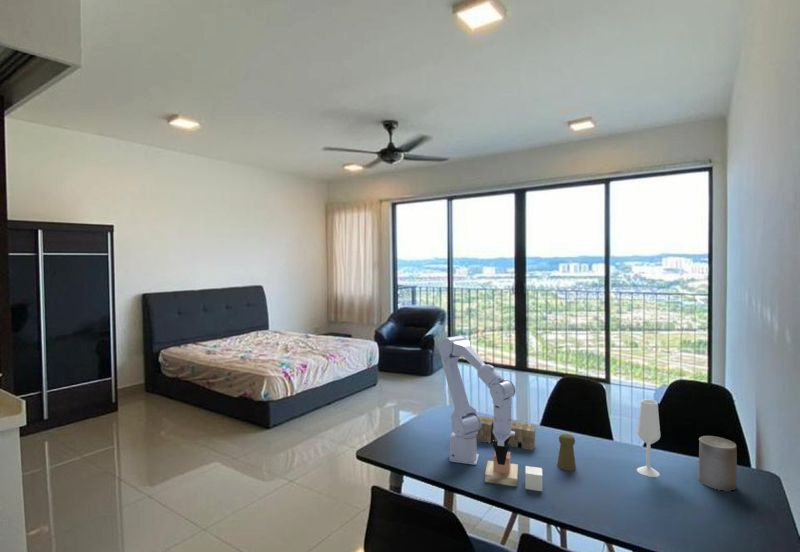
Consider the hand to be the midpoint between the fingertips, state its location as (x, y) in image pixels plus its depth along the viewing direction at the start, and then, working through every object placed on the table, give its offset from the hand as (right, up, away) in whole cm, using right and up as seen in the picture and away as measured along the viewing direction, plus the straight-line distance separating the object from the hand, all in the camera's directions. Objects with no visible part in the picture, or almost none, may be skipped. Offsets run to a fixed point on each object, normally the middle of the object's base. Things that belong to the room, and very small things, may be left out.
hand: (502, 458), depth 139 cm
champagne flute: (+50, -6, +3) cm, 51 cm away
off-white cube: (+9, -6, -6) cm, 12 cm away
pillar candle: (+68, -7, -4) cm, 68 cm away
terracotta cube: (0, -4, 0) cm, 4 cm away
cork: (+24, -6, +7) cm, 26 cm away
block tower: (+5, -6, +29) cm, 30 cm away
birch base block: (0, -7, 0) cm, 6 cm away
